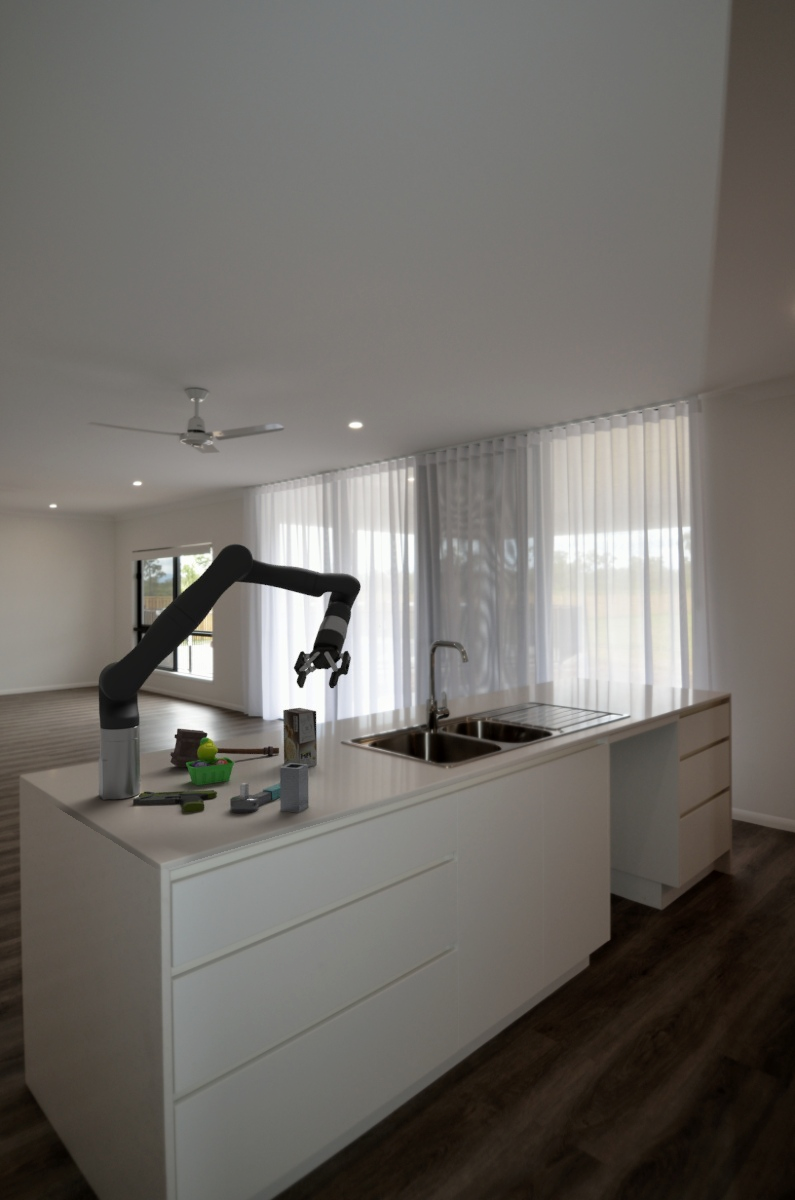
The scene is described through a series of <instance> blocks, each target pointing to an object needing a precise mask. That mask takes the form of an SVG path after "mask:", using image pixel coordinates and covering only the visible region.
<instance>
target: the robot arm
mask: <svg viewBox="0 0 795 1200" xmlns="http://www.w3.org/2000/svg"><path fill="white" fill-rule="evenodd" d="M235 583H246V584H257V585H264V586H269V587H272V588H273V587H274V588H278V589H281V590H286V591H288V592H289V591H290V592H293V593H298V594H302V595H306V596H310V597H313V598H321V597H322V596H323V595H324V594H325V593H330V596H329V599H328V604H327V608H326V611H325V612H324V616H323V619H322V621H321V623H320V625H319V628H318V631H317V634H316V637H315V640H314V642H313V647H312V651H311V652H310V653H305V651H303V650H302V651H300V652H299V654H298V657H297V659H296V661H295V662H294V663H295V664H294V667H293V669H294V671H295V673H296V675H297V679H296V684H297V686H298V687H299V689H303V688H304V686H305V683H306V681H307V676H308V675H309V674H310V673H313V672H315V671H316V670H329V669H332V671H331V674H330V677H329V681H328V686H329V688H330V689H334V688H335V687H337V686H338V683H339V682H338V681H339V678H340V677H341V676H342V675H344V676H346V675H348V673H349V669H350V664H351V660H352V657H351V655H350V653H349V651H348V650H345V651H344V652H342V651H343V647H344V644H345V640H346V638H347V634H348V629H349V628H348V627H349V624H350V621H351V617H352V608H353V606H354V603H355V601H356V600H357V597H358V596H359V593H360V591H361V582H360V580H359V579H358V578H356V576H353V575H351V574H349V573H345V572H344V573H341V572H339V573H338V572H319V571H315V570H312V569H307V568H304V567H299V566H293V565H291V566H289V565H279V564H273V563H268V562H267V563H266V562H263V561H260V560H258V559H256V558H253V554H252V552H251V550H250V549H249V548H248V547H247V546H246V545H245V544H241V543H232V544H228V545H226V546H225V547H223V548H222V549H221V550H220V552H219V553H218V554H217V555H216V557H215V558H214V559H213V561H212V562H211V563H210V565H209V566H208V567H207V568H206V569H205V571H204V572H203V573H202V574H201V575H200V576H199V577H198V578H197V579H196V580H195V581H193V583H191V584H190V585H189V586H188V587H187V588H186V589H184V590H183V591H182V592H181V593H180V594H179V595H178V596H177V597H175V599H173V601H171V602H170V603H169V604H168V605H167V606H166V607H165V608H164V609H163V610H162V611H161V612H160V613H159V615H158V616H157V617H156V618H155V619H154V621H153V622H152V623H151V625H150V626H149V627H148V629H147V631H146V632H145V634H144V635H143V637H142V639H141V640H140V641H139V642H138V643H137V644H136V646H135V647H134V648H133V649H131V650H130V651H129V652H128V653H127V654H125V656H124V657H122V658H121V659H120V660H119V661H115V662H111V663H109V664H107V665H106V666H105V667H104V668H103V669H102V670H101V672H100V673H99V677H98V715H99V727H100V728H99V747H100V748H99V749H100V751H99V752H100V753H99V754H100V755H99V756H98V795H99V797H100V798H101V799H102V800H103V801H105V800H121V799H128V798H131V797H135V796H137V795H138V796H139V795H140V794H141V793H140V792H141V777H140V776H141V764H140V763H141V762H140V761H141V760H140V759H141V758H140V757H141V756H140V753H141V751H140V749H141V748H140V746H141V745H140V743H141V741H140V711H139V699H138V698H139V697H138V695H139V694H138V692H139V690H140V689H141V688H142V686H143V685H145V683H146V681H147V680H148V679H149V677H150V676H151V675H152V673H153V672H154V671H155V670H156V669H157V667H158V666H159V665H160V664H161V663H162V662H163V661H164V660H165V659H166V658H168V656H170V655H171V654H172V653H173V652H175V650H176V649H177V648H178V647H180V645H182V643H183V642H184V641H186V640H187V639H188V638H189V637H190V636H191V634H193V633H194V632H195V630H196V629H197V628H198V627H199V626H200V625H201V623H203V622H204V620H205V619H206V618H207V616H208V615H209V613H210V612H211V611H212V610H213V608H214V606H215V605H216V603H217V602H218V600H219V599H220V598H221V597H222V595H223V594H224V593H226V591H227V590H228V589H229V588H230V587H231V586H232V585H234V584H235ZM340 660H341V664H340V667H338V665H336V664H337V663H338V662H339V661H340Z"/></svg>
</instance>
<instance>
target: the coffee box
mask: <svg viewBox="0 0 795 1200" xmlns="http://www.w3.org/2000/svg"><path fill="white" fill-rule="evenodd" d="M282 713H283V716H282V717H283V718H282V719H283V720H282V721H283V764H284V765H287V764H289V763H298V764H308V768H309V767H314V766H318V755H317V754H318V750H317V749H318V747H317V745H318V744H317V743H318V742H317V738H318V737H317V710H313V709H307V708H303V707H296V708H289V709H283V711H282Z"/></svg>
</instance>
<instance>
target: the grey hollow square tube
mask: <svg viewBox="0 0 795 1200" xmlns="http://www.w3.org/2000/svg"><path fill="white" fill-rule="evenodd" d="M279 770H280V771H279V773H280V774H279V775H280V776H279V778H280V779H279V780H280V782H279V783H280V797H279V801H280V812H287V813H288V812H291V813H299V814H300V813H301V812H303V811H305V810H306V809H307V808H308V807H309V767H308V764H298V763H289V764H284V765H282V766H281V767H279Z"/></svg>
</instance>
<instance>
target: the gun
mask: <svg viewBox="0 0 795 1200" xmlns="http://www.w3.org/2000/svg"><path fill="white" fill-rule="evenodd" d="M217 795H218V792H217V791H216V790H214V789H213V790H211V789H209V790H208V789H207V790H184V791H183V790H182V791H166V792H165V791H163V792H162V791H161V792H160V791H159V792H153V791H144V792H141V793H139V794H138V796H136V797H134V798H133V799H132V805H133V806H149V805H151V806H152V805H153V806H154V805H169V804H170V805H173V804H174V805H175V804H176V805H177V804H181V807H182V811H183V813H185V814H187V813H188V814H190V813H191V814H192V813H199V812H202V811H204V810H205V803H204V801H205V800H208V799H213V798H214V799H215V798H217Z"/></svg>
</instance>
